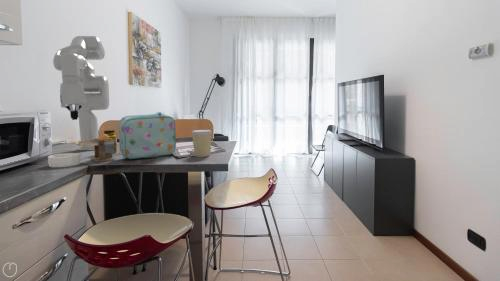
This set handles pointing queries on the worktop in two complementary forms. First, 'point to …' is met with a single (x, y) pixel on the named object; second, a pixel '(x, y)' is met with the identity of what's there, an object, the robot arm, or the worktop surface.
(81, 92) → the robot arm
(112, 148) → the lever
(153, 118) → the lunch box
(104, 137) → the ball
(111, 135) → the condiment
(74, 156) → the bowl
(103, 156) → the stand
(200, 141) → the coffee cup
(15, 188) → the worktop surface
